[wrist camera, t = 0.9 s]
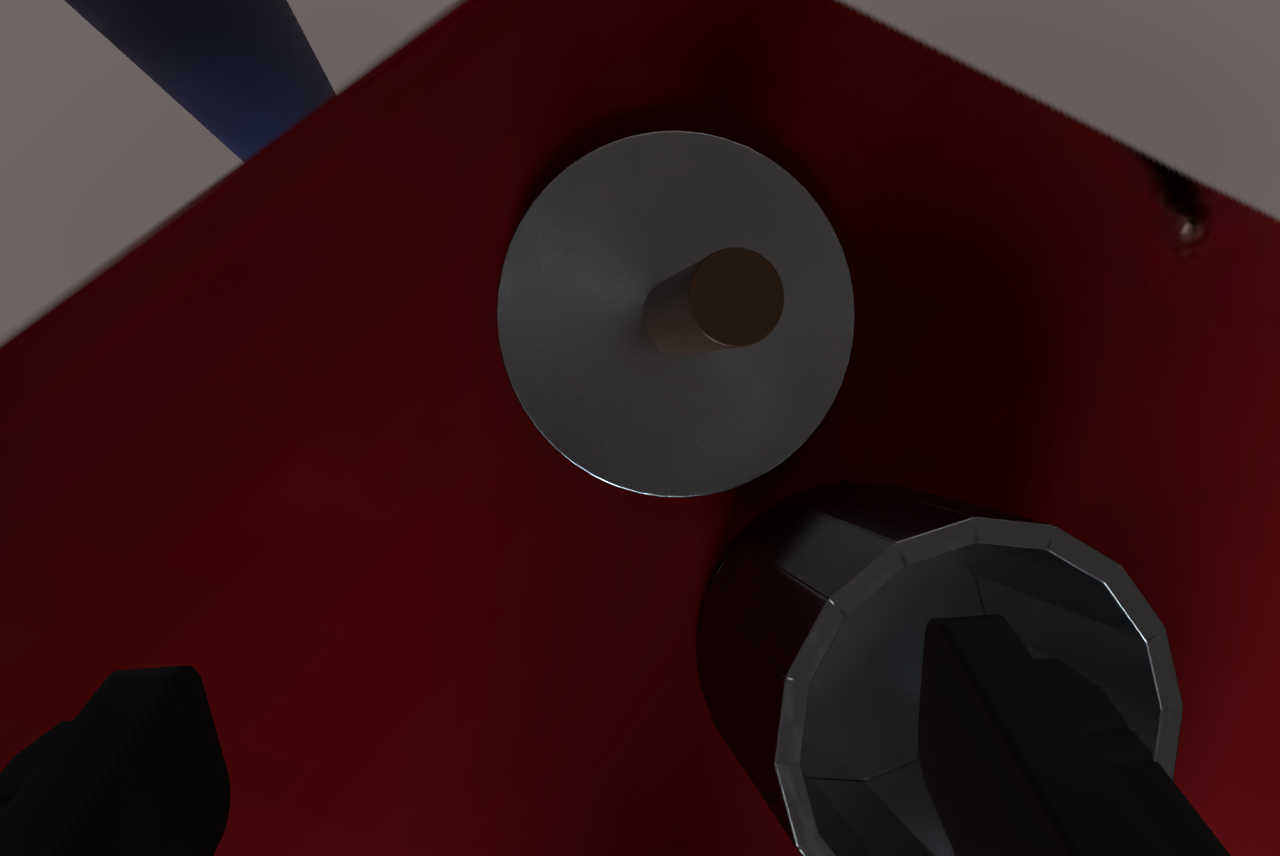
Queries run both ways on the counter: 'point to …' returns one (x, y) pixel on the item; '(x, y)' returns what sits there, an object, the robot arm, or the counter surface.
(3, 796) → the robot arm
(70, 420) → the counter surface
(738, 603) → the tin
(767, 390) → the tin lid
